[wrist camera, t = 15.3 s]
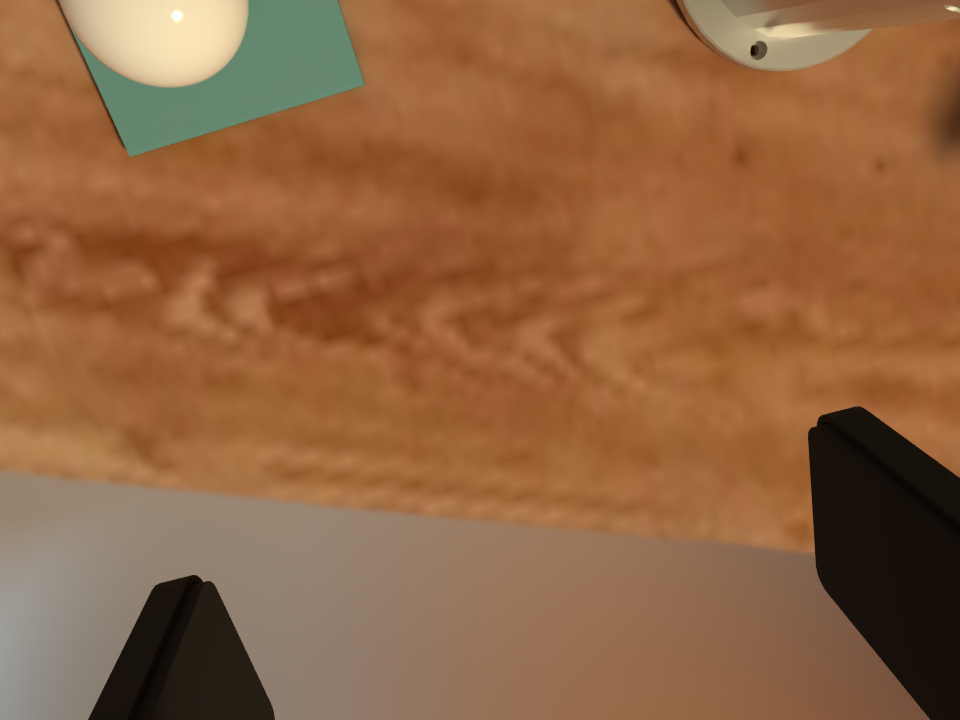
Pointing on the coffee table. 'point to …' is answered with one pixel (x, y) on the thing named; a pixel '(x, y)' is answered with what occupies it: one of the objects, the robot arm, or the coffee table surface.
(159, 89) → the mat
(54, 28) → the coffee table surface
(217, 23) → the lightbulb
